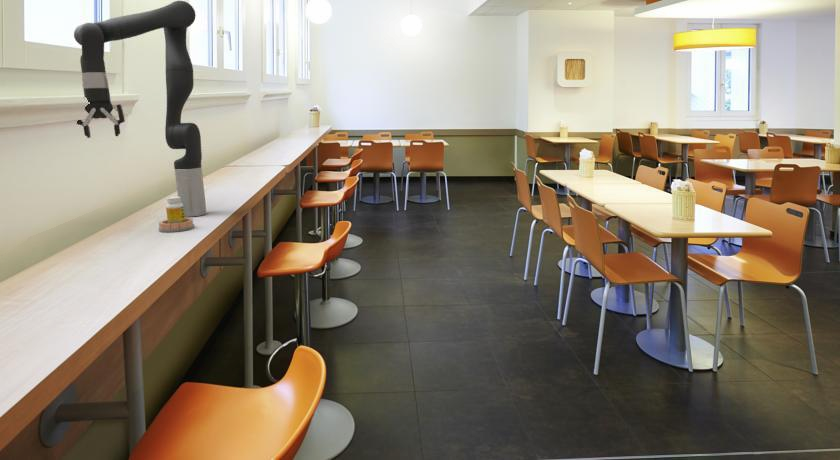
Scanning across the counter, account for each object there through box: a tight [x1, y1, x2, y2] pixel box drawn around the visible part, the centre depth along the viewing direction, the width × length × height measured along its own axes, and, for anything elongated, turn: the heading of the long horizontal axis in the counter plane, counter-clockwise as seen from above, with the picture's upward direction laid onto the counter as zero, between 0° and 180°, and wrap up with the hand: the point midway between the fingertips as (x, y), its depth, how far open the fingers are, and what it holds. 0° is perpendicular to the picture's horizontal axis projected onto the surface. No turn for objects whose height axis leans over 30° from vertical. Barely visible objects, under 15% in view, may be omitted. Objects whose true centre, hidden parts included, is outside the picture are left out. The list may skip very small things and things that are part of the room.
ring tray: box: [158, 217, 195, 234], centre depth 205 cm, size 11×11×3 cm
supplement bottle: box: [165, 196, 186, 224], centre depth 204 cm, size 5×5×10 cm
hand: (103, 136), depth 208 cm, fingers open, 8 cm apart
